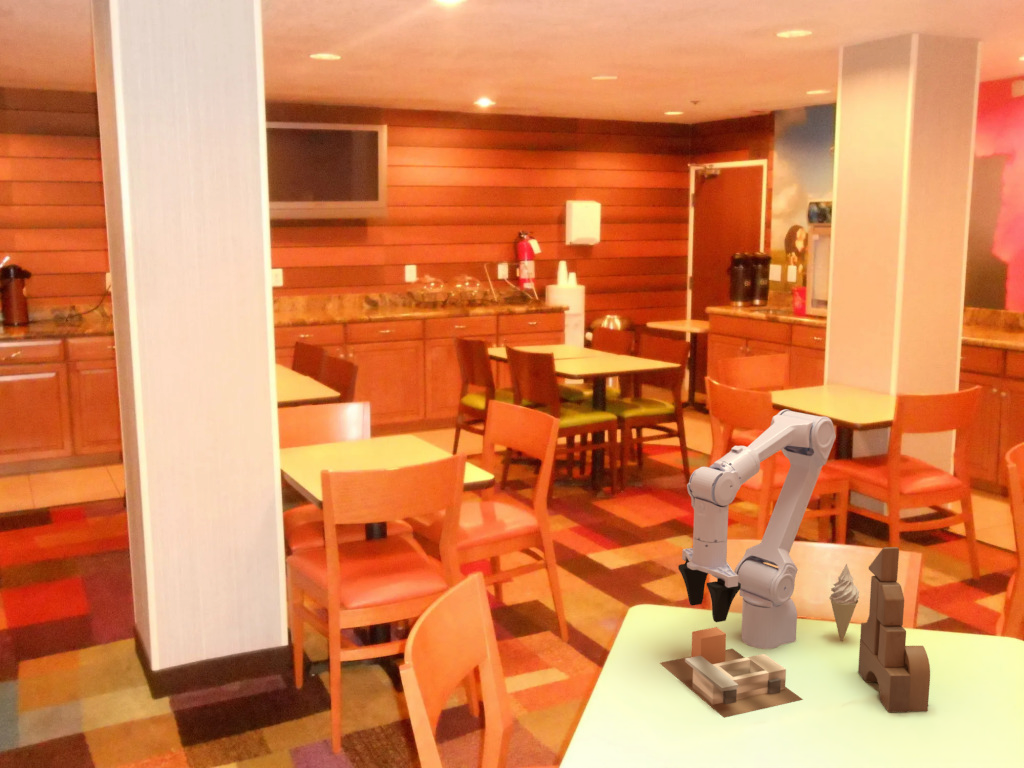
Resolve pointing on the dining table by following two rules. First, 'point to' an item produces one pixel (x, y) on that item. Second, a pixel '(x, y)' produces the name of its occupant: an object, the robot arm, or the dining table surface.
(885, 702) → the wooden toy
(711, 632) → the orange upright block
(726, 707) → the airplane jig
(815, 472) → the robot arm
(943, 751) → the dining table surface
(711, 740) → the dining table surface
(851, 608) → the ice cream cone
